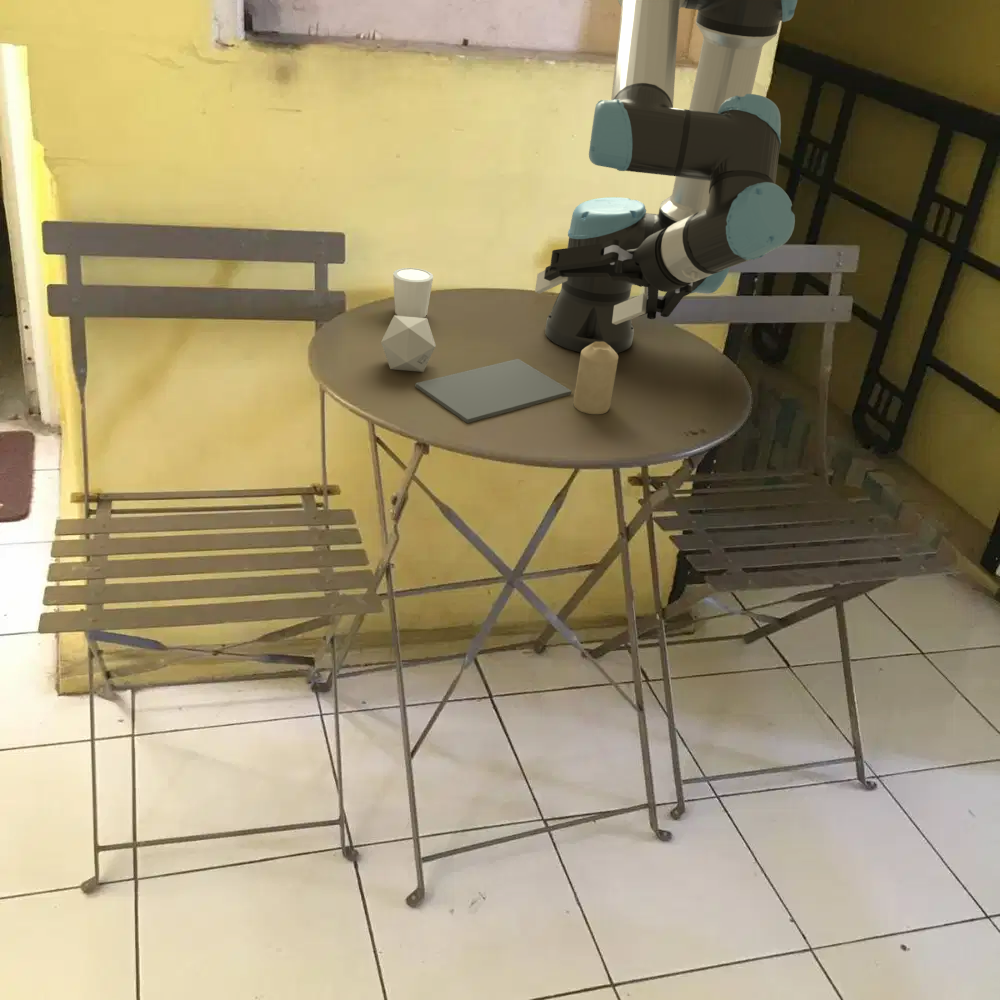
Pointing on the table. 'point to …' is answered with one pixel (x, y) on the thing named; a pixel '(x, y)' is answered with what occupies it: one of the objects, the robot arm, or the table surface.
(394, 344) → the die
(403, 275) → the shot glass
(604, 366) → the candle
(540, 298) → the table surface
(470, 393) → the mat
